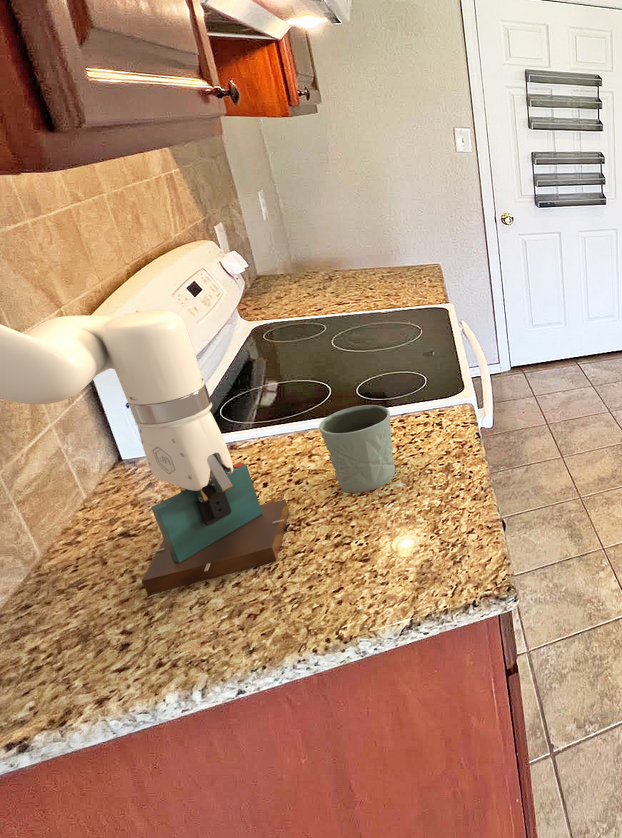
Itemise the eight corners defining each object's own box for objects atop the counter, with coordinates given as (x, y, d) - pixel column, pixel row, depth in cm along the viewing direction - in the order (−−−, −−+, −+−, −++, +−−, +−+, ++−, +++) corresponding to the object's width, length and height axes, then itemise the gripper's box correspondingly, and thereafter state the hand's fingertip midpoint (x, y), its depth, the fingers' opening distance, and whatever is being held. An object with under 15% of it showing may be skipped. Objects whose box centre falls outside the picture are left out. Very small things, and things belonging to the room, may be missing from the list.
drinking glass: (321, 494, 96) (304, 433, 92) (357, 460, 105) (343, 403, 101) (382, 495, 96) (368, 434, 92) (412, 461, 106) (400, 404, 101)
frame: (179, 563, 78) (156, 508, 74) (172, 560, 78) (149, 505, 75) (262, 513, 88) (246, 463, 84) (256, 511, 88) (239, 461, 85)
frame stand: (137, 605, 74) (130, 590, 73) (174, 533, 87) (168, 519, 86) (279, 567, 81) (275, 552, 80) (295, 505, 93) (291, 491, 92)
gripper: (99, 405, 74) (146, 520, 81) (177, 429, 69) (221, 548, 76) (167, 382, 81) (206, 489, 87) (243, 402, 76) (278, 514, 83)
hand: (213, 516), depth 82 cm, fingers closed
